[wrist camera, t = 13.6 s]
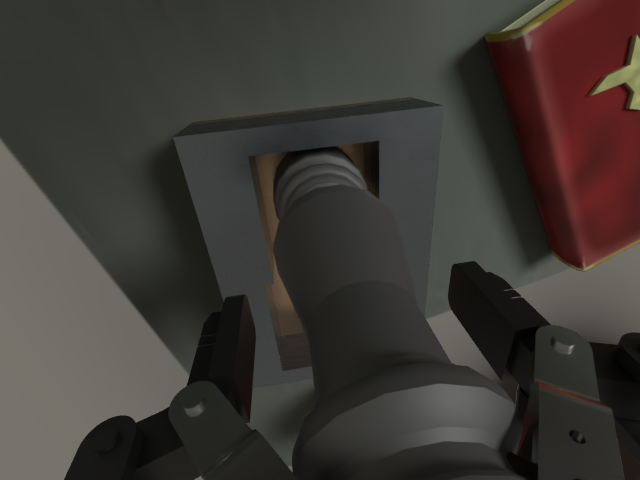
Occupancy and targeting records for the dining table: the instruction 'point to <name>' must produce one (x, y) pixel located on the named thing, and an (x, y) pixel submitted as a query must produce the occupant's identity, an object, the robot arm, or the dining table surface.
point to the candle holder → (375, 343)
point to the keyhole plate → (259, 211)
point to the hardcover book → (577, 120)
